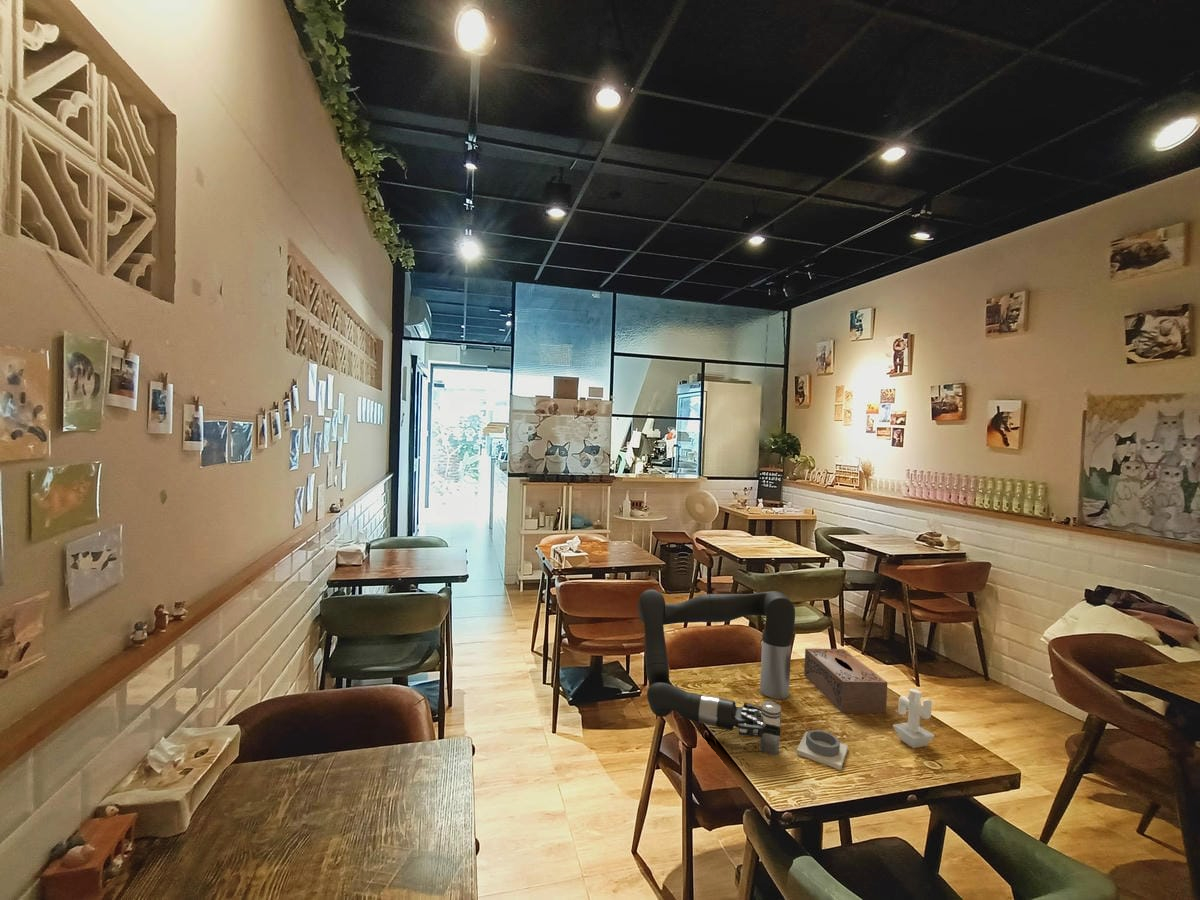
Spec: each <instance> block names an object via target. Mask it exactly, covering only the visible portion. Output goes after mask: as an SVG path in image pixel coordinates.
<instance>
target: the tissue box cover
mask: <svg viewBox="0 0 1200 900" xmlns="http://www.w3.org/2000/svg"><path fill="white" fill-rule="evenodd" d="M803 669H804V671H803V676H804V677H806V678H807V680H808V681H809V682H811V683H812V684H813V686H814V687H816V688H817V690H819V692H821V693H822V694H823V696H824V697H826V698H827V699H828V701H830V703H831V704H833V706H835V707H836V709H837V710H839V711H840V712H841V713H845V714H846V713H850V714H852V713H854V714H859V713H860V714H861V713H863V714H865V713H866V714H875V713H876V714H877V713H878V714H886V713H887V702H888V701H887V700H888V681H886V680H885V679H884V678H883V677H882V676H880V675H878V674H877V673H876V672H875V671H873V670H872V669H870V668H869V667H868V666H867V665H866V664H864V663H863V662H862V661H861V660H859V659H858V658H856V657H855V656H853V655H852V654H851V653H850V652H848V650H846V649H844V648H805V651H804V668H803Z"/></svg>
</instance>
